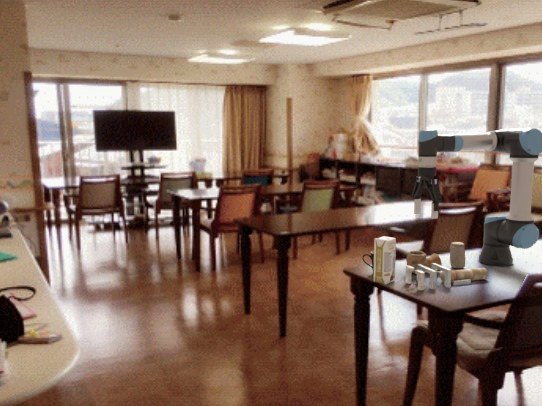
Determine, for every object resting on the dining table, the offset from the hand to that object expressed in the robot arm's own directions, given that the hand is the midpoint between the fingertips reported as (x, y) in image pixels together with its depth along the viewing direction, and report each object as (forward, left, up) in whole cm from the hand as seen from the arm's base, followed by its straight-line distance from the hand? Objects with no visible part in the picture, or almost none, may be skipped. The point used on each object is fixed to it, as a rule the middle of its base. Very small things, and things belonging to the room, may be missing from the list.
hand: (425, 216), depth 211 cm
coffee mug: (+15, -13, -28) cm, 35 cm away
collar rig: (-2, +8, -28) cm, 29 cm away
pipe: (-5, -7, -28) cm, 29 cm away
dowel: (-14, +9, -28) cm, 32 cm away
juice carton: (+18, -1, -28) cm, 33 cm away
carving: (-25, -10, -28) cm, 39 cm away
